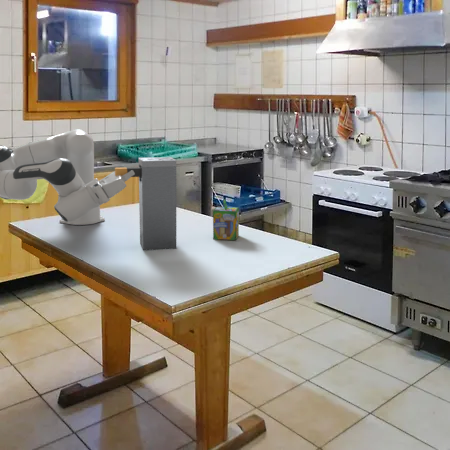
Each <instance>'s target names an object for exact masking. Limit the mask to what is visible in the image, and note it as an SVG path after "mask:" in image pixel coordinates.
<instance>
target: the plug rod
mask: <svg viewBox="0 0 450 450" xmlns="http://www.w3.org/2000/svg"><path fill="white" fill-rule="evenodd" d="M130 170H133V171H134V173H135V175H133V176H132V177H131V178H139V177H141V167H139V166H138V167H137V166H136V167H135V166H133V167H132V166H131V167H127V166H126V167H114V171H115V176H117V175H120V176H122V175H124V174H126V173H128V172H129V171H130Z"/></svg>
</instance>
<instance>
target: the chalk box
mask: <svg viewBox="0 0 450 450" xmlns="http://www.w3.org/2000/svg"><path fill="white" fill-rule="evenodd" d="M222 202H223V203H222V204H223V206H216V207H214V209H213V210H212V226H213V228H212V230H213V231H212V232H213V233H212V234H213V235H212V236H213V237H212V238H213V240H217V241H219V240H221V241H222V240H224V241H226V240H228V241H237V239H238V237H239V230H240V229H239V228H240V227H239V226H240V225H239V224H240V223H239V222H240V221H239V220H240V208H239V207H236V206H234V207H233V206H228V205H227V200H226V199H224V200H223V201H222Z"/></svg>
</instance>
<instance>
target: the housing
mask: <svg viewBox="0 0 450 450" xmlns="http://www.w3.org/2000/svg"><path fill="white" fill-rule="evenodd" d="M138 167H141V177H138V201H139V202H138V203H139V206H138V207H139V244H140V247H141V249H142V251H163V250H177V160H176V159H175V158H173V157H171V156H168V157H167V156H165V157H138Z"/></svg>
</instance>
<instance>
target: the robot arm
mask: <svg viewBox="0 0 450 450" xmlns="http://www.w3.org/2000/svg"><path fill="white" fill-rule="evenodd" d="M94 174H95V142H94V140H93V137H92V136H91V135H90V134H89V133H88V132H87V131H85V130H83V129H79V128H78V129H77V128H76V129H72V130H69V131H65V132H63V133H60V134H56V135H52V136H50V137H47V138H44V139H40V140H37V141H32V142H29V143H25V144H23V145H20V146H17V147H14V148H13V149H12V148H9V147H7V146H5V145H1V144H0V198H1V199H3V200H17V201H20V200H21V201H22V200H23V201H24V200H29V198H31V197H32V196H33V195H34V194H35V192H36V190H37V188H38V180H45V181H46V182H48V183H49V184H50V185H51V186H52V187H53V189H54V190H55V191H56V193H57V194H58V195H57V196H58V199H57V202H56V204H54V206H53V208H54V210H55V212H56V213H57V214H58V215H59V216H60V217H61V218H60V219H59V223H61V224H68V225H74V226H75V225H76V226H77V225H78V226H81V225H83V226H84V225H85V226H86V225H93V224H97V223H100V222H105V221H106V219H105V217H103V216H102V215H101V207H100V206H101V205H103V204H106V203H108V202H110V200H111V198H113V197H115V195H117V194H119V193H120V192H121V191H123V190H124V189H125V188H126V187H127V184H126V182H127V181H128V180H129V179H130V178H133V177H132V176H133V175H135V173H134V171H133V170H130V171H129V172H128V173H126V174H124V175H122V176H120V175H117V176H115V170H114V171H113V172H111V173H109V174H108V175H107V176H105V177H103V178H101V179H100V180H99V179H98V177H96V178H95V175H94Z"/></svg>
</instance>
